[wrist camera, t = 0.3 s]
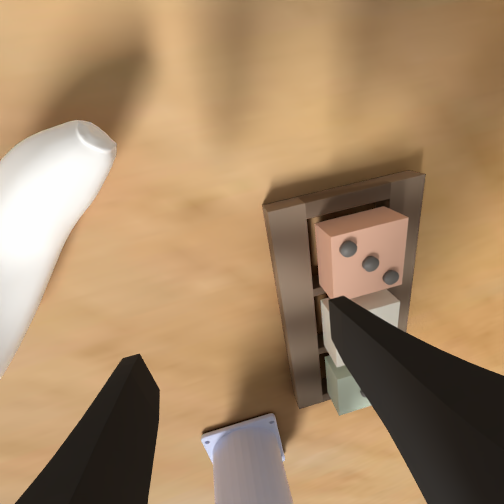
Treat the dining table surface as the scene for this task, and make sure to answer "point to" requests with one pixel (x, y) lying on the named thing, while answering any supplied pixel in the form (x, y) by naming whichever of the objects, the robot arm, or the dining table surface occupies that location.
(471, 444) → the robot arm
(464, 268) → the dining table surface
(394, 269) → the tile three
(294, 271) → the dice tray
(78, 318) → the dining table surface
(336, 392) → the tile one
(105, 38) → the dining table surface
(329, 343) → the tile two
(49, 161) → the banana
